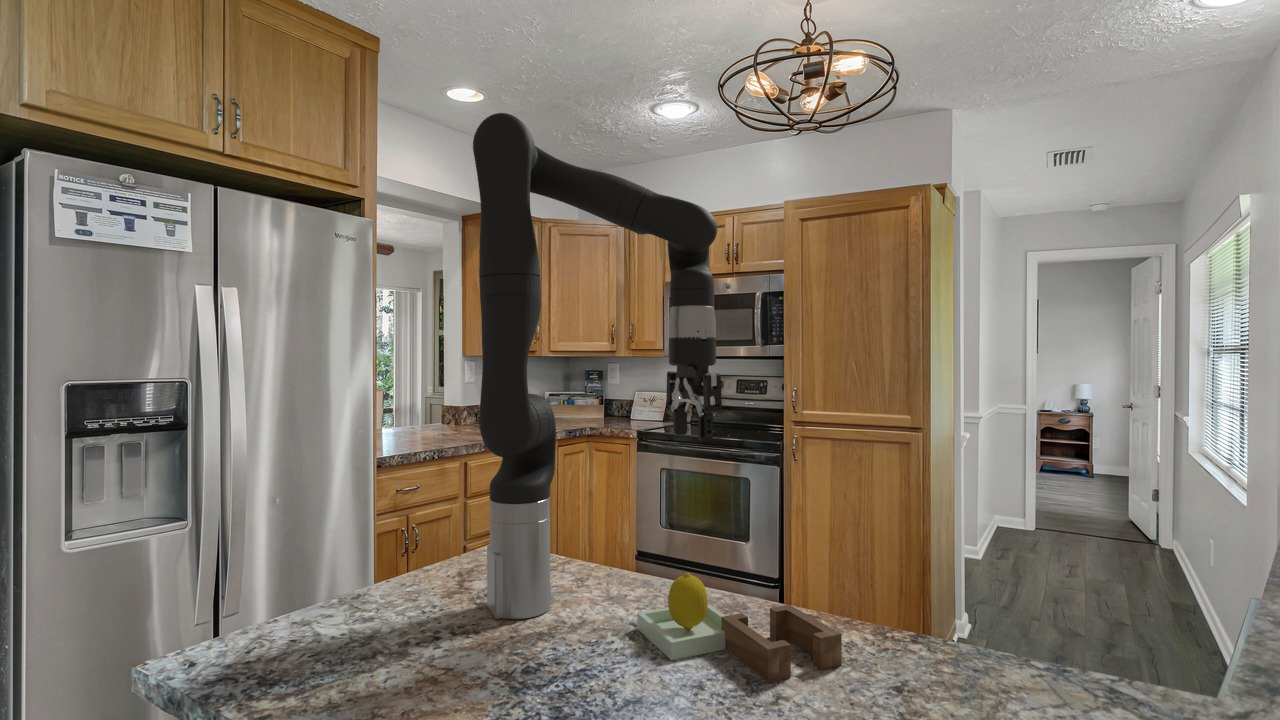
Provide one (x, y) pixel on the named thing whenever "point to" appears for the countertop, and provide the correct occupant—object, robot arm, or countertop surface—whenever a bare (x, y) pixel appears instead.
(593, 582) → the countertop surface
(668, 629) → the dish
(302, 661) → the countertop surface
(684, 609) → the lemon
